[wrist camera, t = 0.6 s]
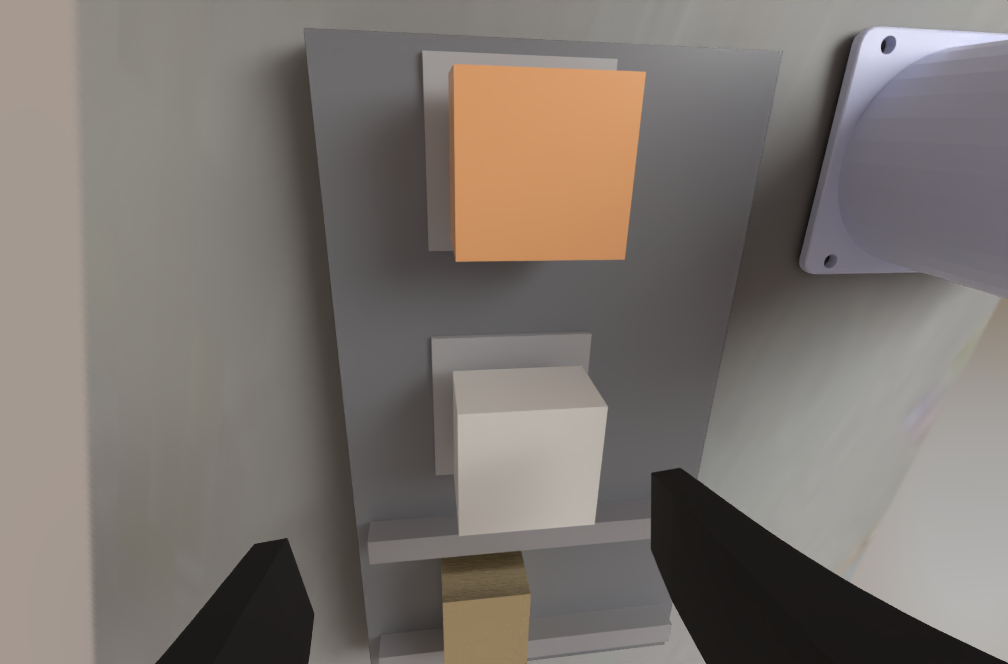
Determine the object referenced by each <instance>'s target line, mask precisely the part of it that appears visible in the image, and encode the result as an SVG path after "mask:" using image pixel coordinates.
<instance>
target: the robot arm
mask: <svg viewBox="0 0 1008 664" xmlns="http://www.w3.org/2000/svg"><path fill="white" fill-rule="evenodd" d="M883 39H885V41H886V47H885V50H884V52H883V53H882V51H881V43H882V41H883ZM829 255H830V259H829V261H828V262H827V263H826V264H825V265H824V261H825V259H826V257H827V256H829ZM799 265H800V267H801V269H802V270H803V271H805V272H807V273H810V274H861V273H919V272H922V273H925V274H928V275H932V276H935V277H938V278H941V279H945V280H948V281H951V282H954V283H958V284H961V285H964V286H967V287H971V288H974V289H977V290H980V291H984V292H987V293H990V294H993V295H997V296H1000V297H1003V298H1006V299H1008V34H1004V33H986V32H969V31H951V30H934V29H917V28H899V27H882V26H877V27H871V28H866V29H864V30H862V31H861V32H859V33H858V34H857V36H856V37H855V38H854V41H853V43H852V46H851V50H850V54H849V58H848V63H847V67H846V71H845V75H844V79H843V83H842V87H841V91H840V95H839V100H838V104H837V108H836V112H835V116H834V120H833V124H832V128H831V132H830V136H829V141H828V145H827V149H826V153H825V157H824V161H823V165H822V169H821V173H820V178H819V182H818V186H817V190H816V194H815V198H814V202H813V206H812V210H811V214H810V219H809V223H808V227H807V231H806V235H805V239H804V243H803V247H802V251H801V256H800V261H799ZM651 551H652V554H653V556H654V559H655V561H656V564H657V566H658V569H659V571H660V574H661V576H662V579H663V581H664V583H665V586H666V588H667V591H668V593H669V595H670V598H671V600H672V602H673V604H674V605H675V607H676V609H677V611H678V613H679V615H680V617H681V618H682V620H683V622H684V624H685V626H686V628H687V630H688V631H689V633H690V635H691V637H692V639H693V641H694V642H695V644H696V646H697V648H698V650H699V652H700V653H701V655H702V657H703V659H704V661H705V662H706V664H1008V663H1007V662H1005V661H1003V660H1000V659H998V658H996V657H994V656H992V655H989V654H987V653H985V652H983V651H981V650H979V649H977V648H975V647H973V646H971V645H969V644H966V643H964V642H962V641H960V640H958V639H956V638H954V637H952V636H949V635H948V634H946V633H944V632H941V631H939V630H937V629H935V628H933V627H931V626H929V625H927V624H925V623H923V622H921V621H919V620H917V619H916V618H914V617H912V616H910V615H908V614H906V613H904V612H902V611H900V610H898V609H897V608H895V607H893V606H891V605H889V604H888V603H886V602H884V601H882V600H880V599H878V598H877V597H874V596H873V595H871V594H869V593H867V592H866V591H863V590H862V589H860V588H858V587H857V586H855V585H853V584H852V583H850V582H848V581H846V580H845V579H843V578H841V577H840V576H838V575H836V574H835V573H833V572H831V571H830V570H828V569H826V568H825V567H823V566H822V565H820V564H818V563H817V562H815V561H814V560H812V559H810V558H809V557H807V556H806V555H804V554H802V553H801V552H799V551H798V550H796V549H795V548H793V547H792V546H790V545H789V544H787V543H786V542H784V541H782V540H781V539H779V538H778V537H777V536H775V535H774V534H772V533H771V532H769V531H768V530H766V529H765V528H763V527H762V526H760V525H759V524H758V523H756V522H755V521H753V520H752V519H750V518H749V517H748V516H746V515H745V514H743V513H742V512H741V511H739V510H738V509H736V508H735V507H734V506H732V505H731V504H729V503H728V502H727V501H725V500H724V499H723V498H721V497H720V496H718V495H717V494H716V493H714V492H713V491H712V490H710V489H709V488H708V487H706V486H705V485H704V484H702V483H701V482H700V481H698V480H697V479H695V478H694V477H693V476H691V475H690V474H689V473H687V472H686V471H684V470H683V469H682V468H675V469H669V470H664V471H658V472H652V473H651ZM313 621H314V612H313V609H312V606H311V603H310V600H309V598H308V595H307V592H306V589H305V586H304V584H303V581H302V578H301V575H300V572H299V569H298V567H297V564H296V561H295V558H294V555H293V553H292V550H291V547H290V544H289V541H288V539H287V538H285V539H280V540H274V541H268V542H263V543H257V544H254V545H253V547H252V548H251V549H250V550H249V551H248V552H247V554H246V555H245V556H244V557H243V559H242V560H241V561H240V562H239V563H238V565H237V566H236V567H235V568H234V570H233V571H232V572H231V573H230V575H229V576H228V577H227V578H226V579H225V581H224V582H223V583H222V584H221V586H220V587H219V588H218V589H217V591H216V592H215V593H214V594H213V595H212V597H211V598H210V599H209V600H208V602H207V603H206V604H205V605H204V607H203V608H202V609H201V610H200V611H199V613H198V614H197V615H196V616H195V618H194V619H193V620H192V621H191V622H190V623H189V625H188V626H187V627H186V628H185V629H184V631H183V632H182V633H181V634H180V635H179V637H178V638H177V639H176V640H175V641H174V643H173V644H172V645H171V646H170V647H169V649H168V650H167V651H166V652H165V653H164V654H163V656H162V657H161V658H160V659H159V660H158V661H157V662H156V663H155V664H308V662H309V654H310V647H311V638H312V630H313Z"/></svg>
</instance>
